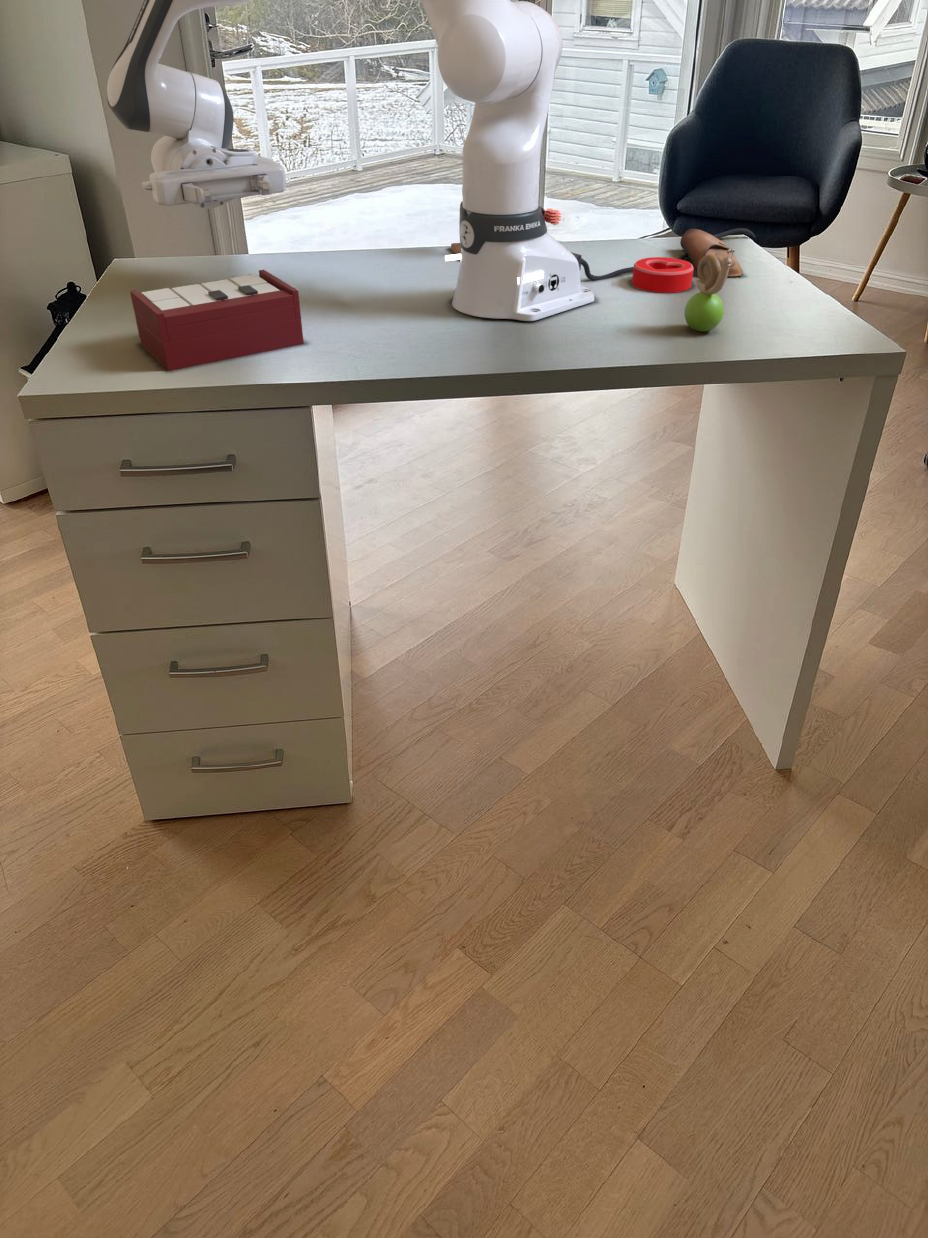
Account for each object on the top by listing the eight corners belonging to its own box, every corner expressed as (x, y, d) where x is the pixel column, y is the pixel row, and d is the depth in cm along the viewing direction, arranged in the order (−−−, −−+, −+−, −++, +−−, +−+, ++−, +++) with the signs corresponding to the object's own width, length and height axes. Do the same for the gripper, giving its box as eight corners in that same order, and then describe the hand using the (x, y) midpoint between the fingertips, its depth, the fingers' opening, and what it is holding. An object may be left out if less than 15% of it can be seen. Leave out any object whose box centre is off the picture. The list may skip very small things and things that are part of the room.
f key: (170, 297, 128) (168, 287, 127) (180, 306, 125) (179, 295, 124) (142, 302, 127) (140, 292, 126) (153, 311, 124) (151, 300, 123)
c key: (256, 283, 134) (254, 273, 133) (268, 291, 131) (267, 281, 130) (231, 287, 132) (229, 277, 131) (242, 295, 129) (241, 285, 128)
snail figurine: (702, 341, 130) (716, 251, 123) (674, 327, 135) (685, 241, 128) (733, 335, 132) (748, 246, 125) (703, 322, 137) (716, 236, 130)
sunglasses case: (747, 273, 156) (732, 237, 152) (708, 295, 158) (692, 260, 154) (725, 246, 170) (711, 213, 167) (689, 266, 172) (674, 234, 169)
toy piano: (270, 320, 138) (263, 269, 133) (303, 344, 129) (298, 290, 125) (141, 344, 129) (129, 290, 125) (168, 371, 121) (157, 314, 117)
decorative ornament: (631, 291, 150) (633, 270, 148) (632, 274, 157) (634, 255, 156) (692, 294, 148) (694, 273, 146) (690, 277, 156) (693, 257, 154)
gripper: (133, 160, 139) (163, 176, 130) (262, 148, 148) (298, 161, 138) (142, 205, 143) (171, 224, 133) (267, 190, 152) (302, 207, 142)
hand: (237, 192), depth 136 cm, fingers open, 8 cm apart
